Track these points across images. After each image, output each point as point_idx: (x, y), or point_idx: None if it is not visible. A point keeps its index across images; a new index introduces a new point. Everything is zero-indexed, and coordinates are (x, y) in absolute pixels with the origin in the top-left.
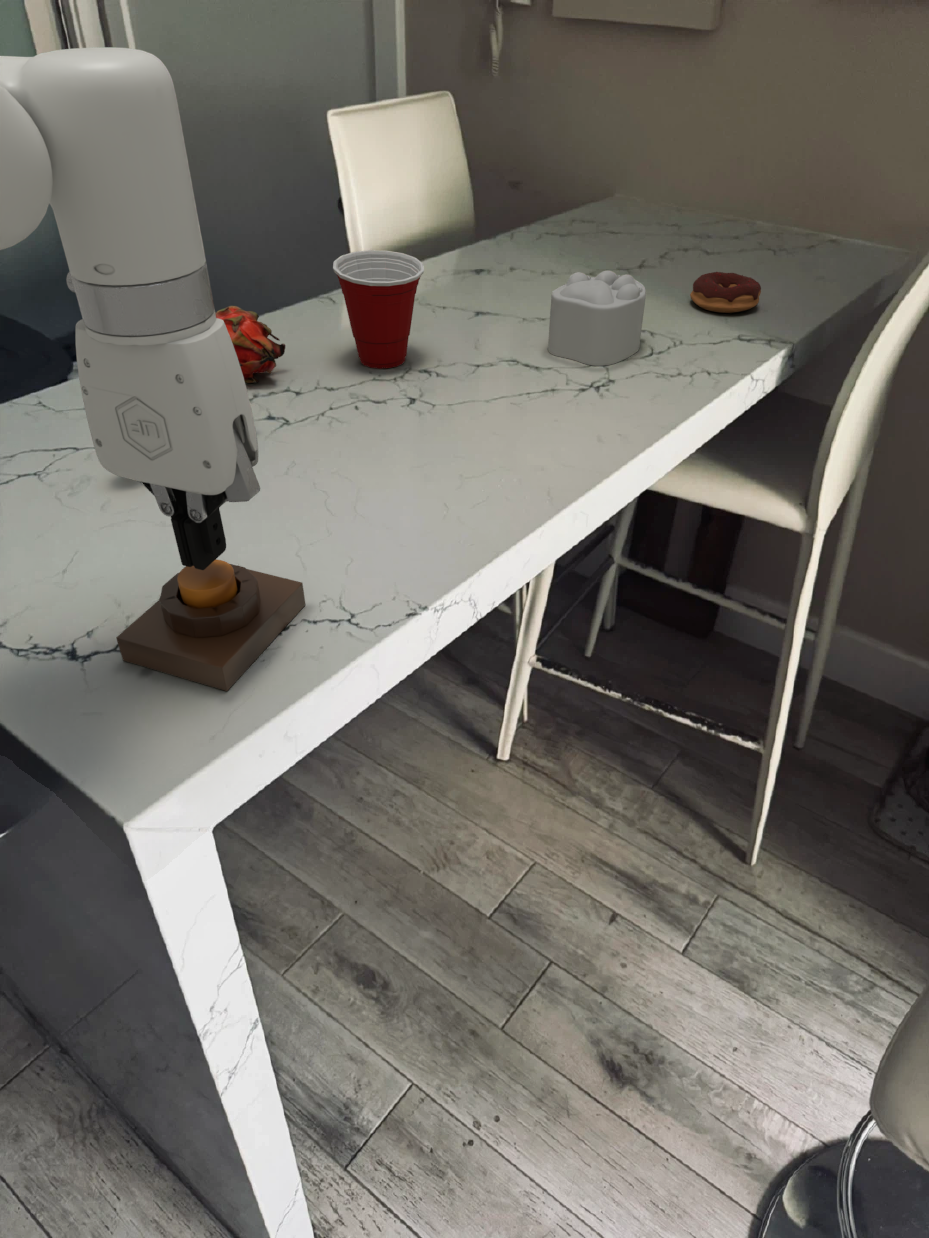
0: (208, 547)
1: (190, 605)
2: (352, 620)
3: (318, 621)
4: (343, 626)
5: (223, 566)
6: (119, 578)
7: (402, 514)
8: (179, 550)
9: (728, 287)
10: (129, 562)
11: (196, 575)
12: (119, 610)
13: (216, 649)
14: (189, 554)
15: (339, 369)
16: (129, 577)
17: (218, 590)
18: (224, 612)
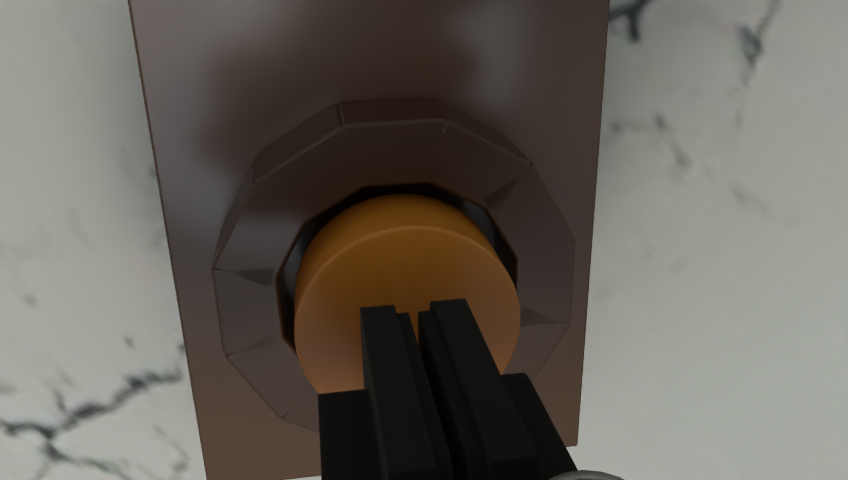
0: (341, 412)
1: (408, 196)
2: (38, 437)
3: (130, 391)
4: (43, 405)
5: None
6: (807, 292)
7: None
8: (478, 338)
9: None
10: (817, 359)
11: None
12: (726, 176)
13: (223, 80)
14: (427, 343)
15: None
16: (781, 308)
17: (305, 281)
18: (248, 212)
